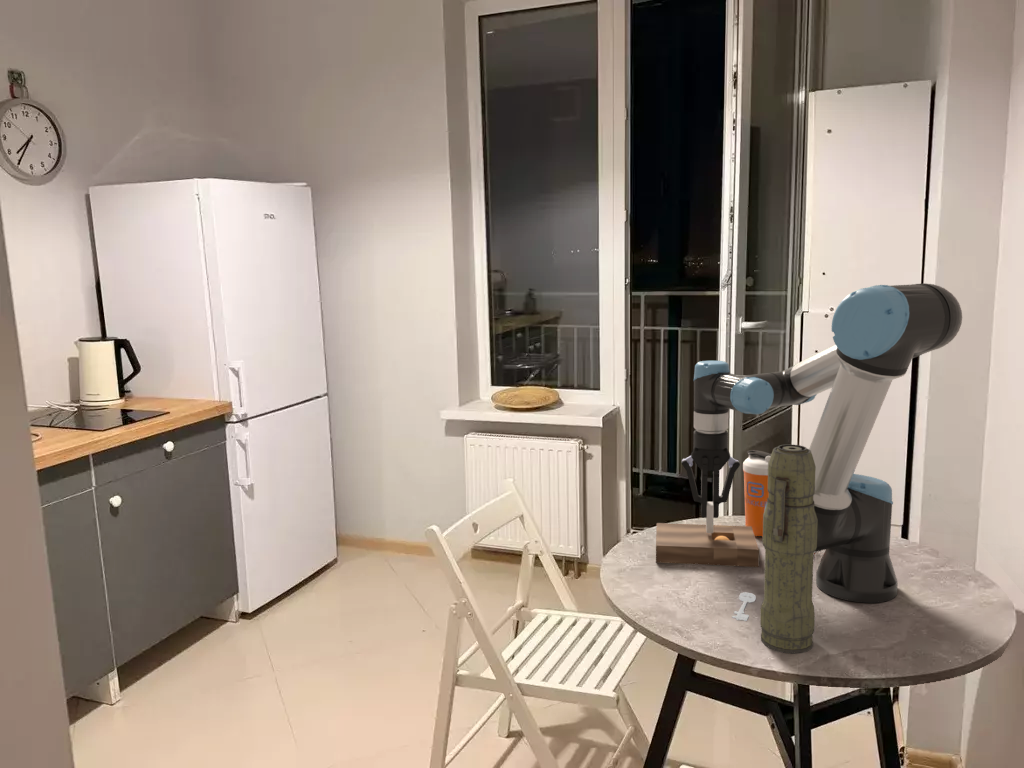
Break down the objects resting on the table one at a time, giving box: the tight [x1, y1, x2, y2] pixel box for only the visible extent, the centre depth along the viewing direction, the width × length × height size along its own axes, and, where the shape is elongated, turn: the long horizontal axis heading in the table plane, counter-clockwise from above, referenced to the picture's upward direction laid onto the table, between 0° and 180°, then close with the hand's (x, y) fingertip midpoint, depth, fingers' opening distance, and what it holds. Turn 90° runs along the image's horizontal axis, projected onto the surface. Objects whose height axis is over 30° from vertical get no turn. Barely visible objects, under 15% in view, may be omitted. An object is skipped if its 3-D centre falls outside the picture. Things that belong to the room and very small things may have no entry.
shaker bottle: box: [742, 449, 772, 538], centre depth 191 cm, size 9×9×20 cm
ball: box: [715, 536, 729, 540], centre depth 179 cm, size 4×4×4 cm
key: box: [731, 591, 757, 622], centre depth 152 cm, size 12×1×3 cm
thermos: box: [759, 443, 818, 654], centre depth 135 cm, size 9×12×35 cm
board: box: [655, 522, 760, 568], centre depth 180 cm, size 15×22×4 cm
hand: (709, 530), depth 179 cm, fingers closed
